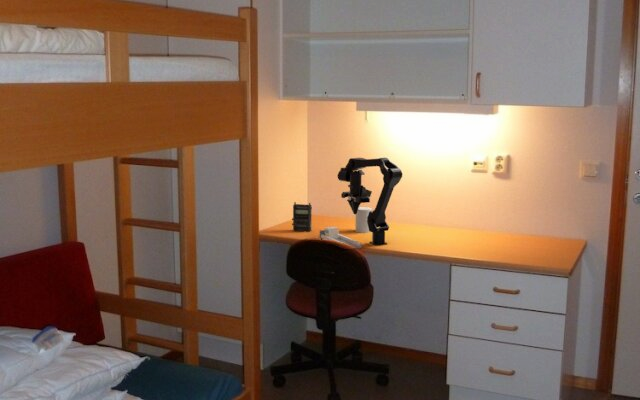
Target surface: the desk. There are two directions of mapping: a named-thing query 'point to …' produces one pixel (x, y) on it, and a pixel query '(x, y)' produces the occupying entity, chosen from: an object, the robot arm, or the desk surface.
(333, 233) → the block
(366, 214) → the cup
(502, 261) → the desk surface
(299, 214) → the geiger counter
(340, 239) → the rail board
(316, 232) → the desk surface
